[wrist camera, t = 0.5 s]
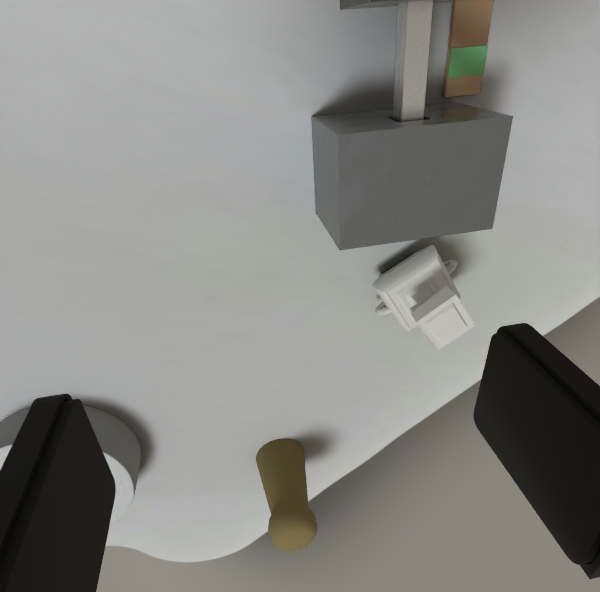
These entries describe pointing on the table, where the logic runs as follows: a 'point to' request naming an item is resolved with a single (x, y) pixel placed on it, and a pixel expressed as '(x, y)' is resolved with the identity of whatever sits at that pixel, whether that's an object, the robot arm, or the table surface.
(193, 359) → the table surface
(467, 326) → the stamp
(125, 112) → the table surface
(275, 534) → the cork
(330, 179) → the block
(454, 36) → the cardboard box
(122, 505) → the tape roll
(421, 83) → the plunger
